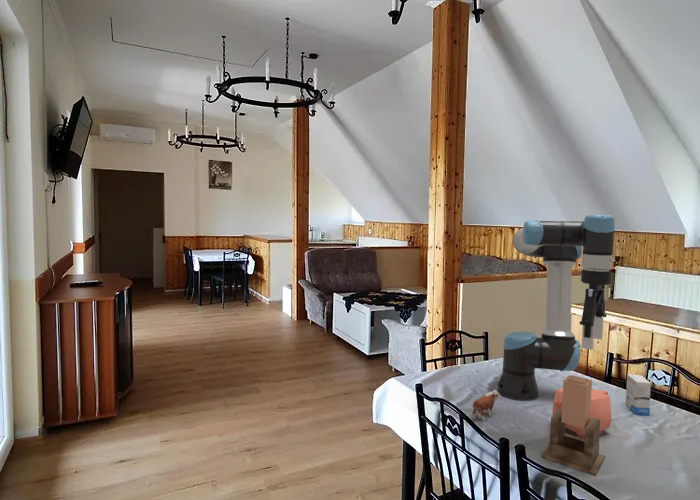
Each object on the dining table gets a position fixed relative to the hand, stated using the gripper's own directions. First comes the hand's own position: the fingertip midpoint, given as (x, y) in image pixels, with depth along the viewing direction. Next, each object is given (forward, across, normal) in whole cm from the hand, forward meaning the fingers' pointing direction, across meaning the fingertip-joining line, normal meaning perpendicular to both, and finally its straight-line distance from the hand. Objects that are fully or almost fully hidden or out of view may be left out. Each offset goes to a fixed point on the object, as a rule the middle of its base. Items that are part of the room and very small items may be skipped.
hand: (592, 343), depth 130 cm
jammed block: (+22, -5, +2) cm, 23 cm away
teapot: (+33, +16, +5) cm, 37 cm away
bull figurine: (+33, +5, +32) cm, 46 cm away
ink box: (+33, +45, -8) cm, 56 cm away
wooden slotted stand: (+33, -5, +2) cm, 33 cm away
